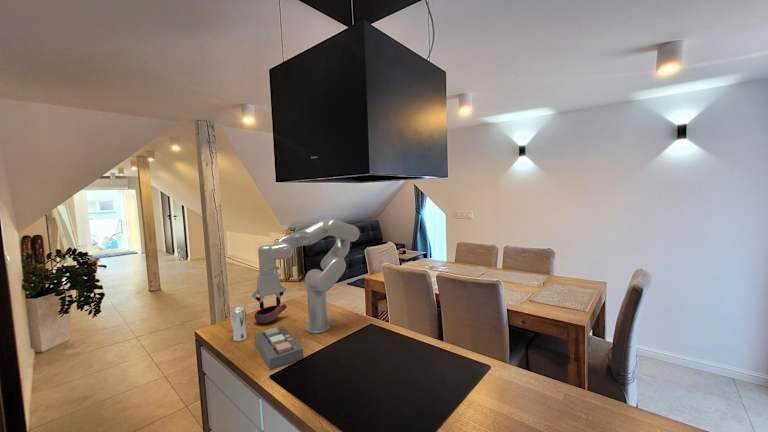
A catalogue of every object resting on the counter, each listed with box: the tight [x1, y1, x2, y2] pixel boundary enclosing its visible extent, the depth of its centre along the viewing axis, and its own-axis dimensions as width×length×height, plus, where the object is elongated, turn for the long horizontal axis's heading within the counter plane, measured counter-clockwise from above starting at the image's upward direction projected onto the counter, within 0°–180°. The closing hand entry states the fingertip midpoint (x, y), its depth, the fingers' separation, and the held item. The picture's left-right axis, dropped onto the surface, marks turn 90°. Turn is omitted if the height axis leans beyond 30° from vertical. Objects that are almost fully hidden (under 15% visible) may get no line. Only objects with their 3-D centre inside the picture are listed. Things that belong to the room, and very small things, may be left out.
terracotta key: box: [275, 341, 292, 355], centre depth 137 cm, size 6×6×3 cm
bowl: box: [253, 303, 288, 324], centre depth 178 cm, size 16×13×8 cm
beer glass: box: [230, 306, 248, 342], centre depth 157 cm, size 7×7×15 cm
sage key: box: [263, 327, 280, 339], centre depth 152 cm, size 6×6×3 cm
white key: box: [269, 334, 285, 346], centre depth 145 cm, size 6×6×3 cm
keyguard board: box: [253, 326, 304, 370], centre depth 145 cm, size 14×28×5 cm, turn 34°
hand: (270, 307), depth 151 cm, fingers open, 6 cm apart
